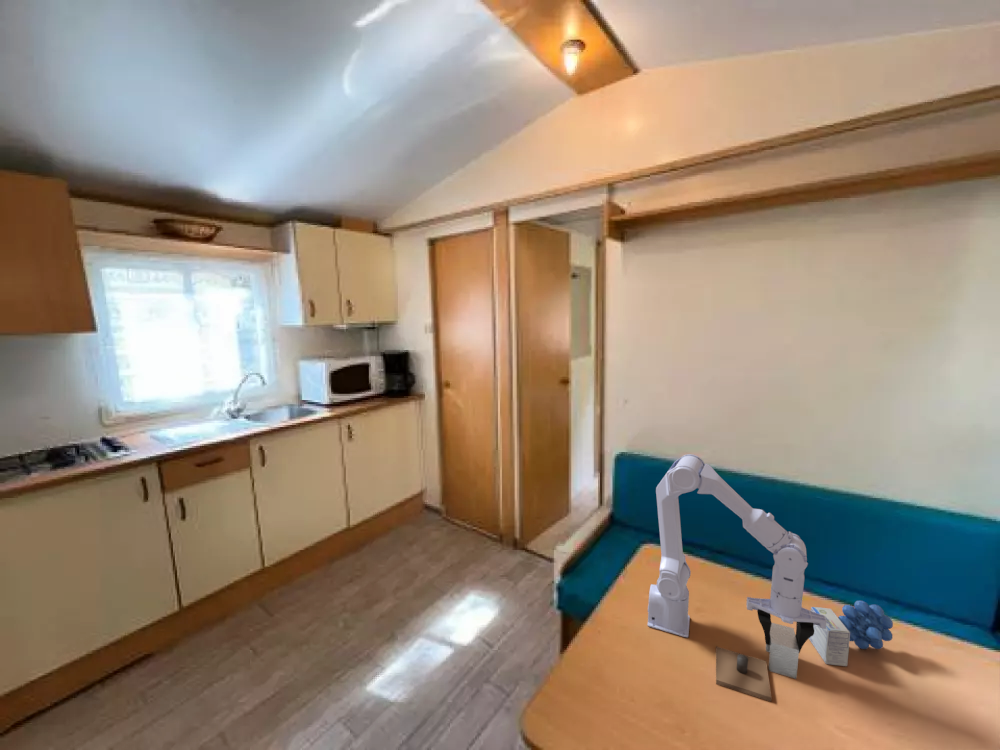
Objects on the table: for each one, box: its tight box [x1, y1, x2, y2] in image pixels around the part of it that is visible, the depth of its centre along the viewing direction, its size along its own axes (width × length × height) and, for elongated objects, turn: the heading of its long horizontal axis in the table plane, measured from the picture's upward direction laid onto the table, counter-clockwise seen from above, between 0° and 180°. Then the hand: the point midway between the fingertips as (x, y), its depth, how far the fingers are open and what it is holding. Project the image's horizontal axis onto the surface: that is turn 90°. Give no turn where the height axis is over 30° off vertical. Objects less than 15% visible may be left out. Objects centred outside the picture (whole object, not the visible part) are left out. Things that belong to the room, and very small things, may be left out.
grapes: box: [837, 600, 894, 650], centre depth 98 cm, size 12×7×12 cm, turn 83°
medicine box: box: [808, 606, 851, 667], centre depth 98 cm, size 8×4×9 cm, turn 168°
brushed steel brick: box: [765, 621, 800, 680], centre depth 95 cm, size 5×7×7 cm
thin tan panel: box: [715, 645, 772, 703], centre depth 93 cm, size 10×10×4 cm
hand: (781, 645), depth 95 cm, fingers closed on brushed steel brick, 5 cm apart
